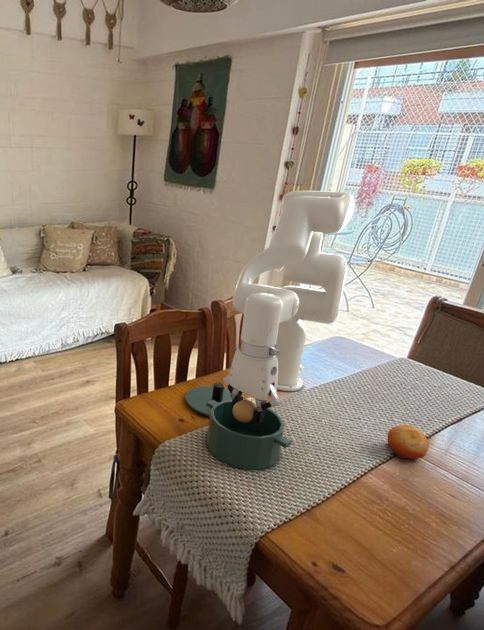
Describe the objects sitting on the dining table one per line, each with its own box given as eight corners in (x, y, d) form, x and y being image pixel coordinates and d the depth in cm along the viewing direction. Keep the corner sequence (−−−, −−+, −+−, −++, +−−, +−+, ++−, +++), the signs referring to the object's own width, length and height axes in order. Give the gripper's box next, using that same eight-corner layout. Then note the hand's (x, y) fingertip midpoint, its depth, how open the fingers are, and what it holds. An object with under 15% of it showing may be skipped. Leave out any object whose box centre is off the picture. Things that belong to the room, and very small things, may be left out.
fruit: (407, 435, 111) (425, 421, 105) (420, 466, 106) (439, 453, 99) (374, 433, 111) (389, 419, 105) (384, 464, 106) (401, 450, 100)
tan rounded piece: (247, 409, 109) (249, 391, 107) (265, 418, 105) (268, 399, 104) (226, 419, 105) (229, 400, 103) (245, 429, 101) (247, 410, 99)
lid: (211, 384, 139) (213, 366, 137) (261, 408, 125) (264, 388, 123) (172, 400, 129) (174, 381, 127) (222, 428, 116) (224, 407, 114)
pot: (226, 417, 121) (229, 389, 118) (303, 458, 104) (309, 427, 101) (185, 437, 112) (187, 408, 109) (262, 486, 95) (267, 453, 92)
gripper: (302, 356, 95) (288, 429, 100) (235, 333, 108) (226, 398, 114) (282, 365, 90) (269, 440, 96) (215, 339, 104) (207, 407, 109)
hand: (246, 417), depth 105 cm, fingers closed on tan rounded piece, 5 cm apart
